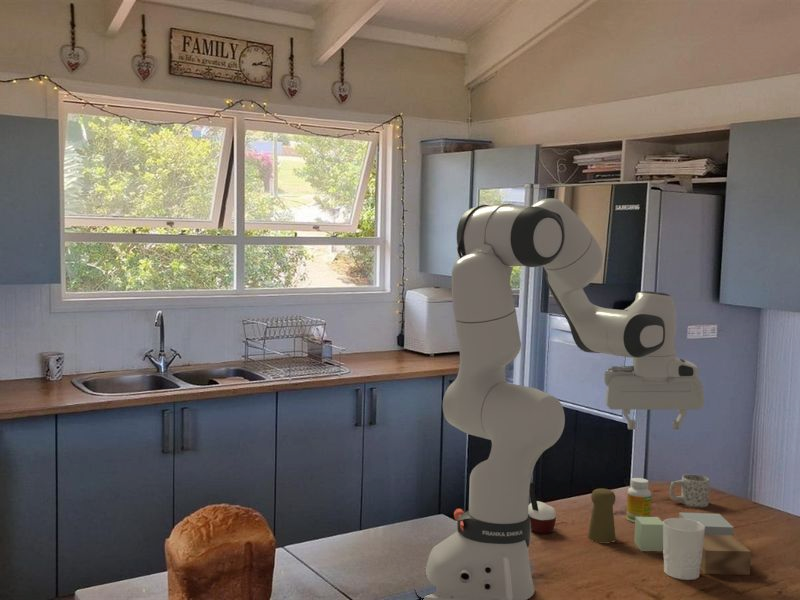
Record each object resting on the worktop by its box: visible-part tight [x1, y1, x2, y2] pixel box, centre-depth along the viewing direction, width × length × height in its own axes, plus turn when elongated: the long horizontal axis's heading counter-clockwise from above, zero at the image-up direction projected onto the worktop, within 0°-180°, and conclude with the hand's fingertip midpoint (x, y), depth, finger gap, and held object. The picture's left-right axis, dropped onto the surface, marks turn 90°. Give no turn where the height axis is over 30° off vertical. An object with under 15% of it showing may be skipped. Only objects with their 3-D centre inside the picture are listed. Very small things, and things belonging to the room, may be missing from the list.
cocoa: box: [528, 481, 557, 535], centre depth 184 cm, size 10×6×12 cm, turn 111°
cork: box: [587, 488, 617, 543], centre depth 181 cm, size 6×6×11 cm
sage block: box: [633, 516, 663, 552], centre depth 176 cm, size 5×5×6 cm
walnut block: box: [700, 535, 752, 576], centre depth 167 cm, size 9×9×5 cm
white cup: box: [662, 517, 705, 581], centre depth 162 cm, size 8×8×10 cm
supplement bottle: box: [626, 477, 652, 523], centre depth 194 cm, size 5×5×10 cm
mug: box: [669, 473, 711, 508], centre depth 208 cm, size 10×7×7 cm, turn 94°
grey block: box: [678, 511, 735, 536], centre depth 181 cm, size 9×9×5 cm
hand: (654, 428), depth 176 cm, fingers open, 8 cm apart
